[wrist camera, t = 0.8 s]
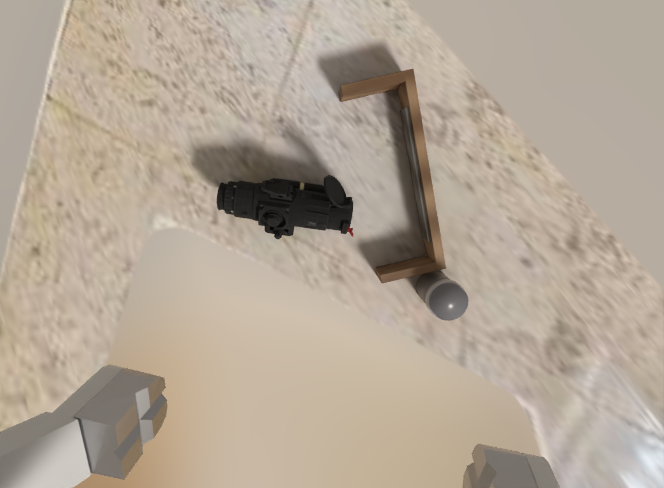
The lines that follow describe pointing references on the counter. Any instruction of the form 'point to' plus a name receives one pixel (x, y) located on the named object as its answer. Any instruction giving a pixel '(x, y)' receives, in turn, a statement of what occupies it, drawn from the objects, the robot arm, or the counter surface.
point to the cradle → (418, 170)
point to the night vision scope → (288, 204)
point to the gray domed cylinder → (442, 295)
